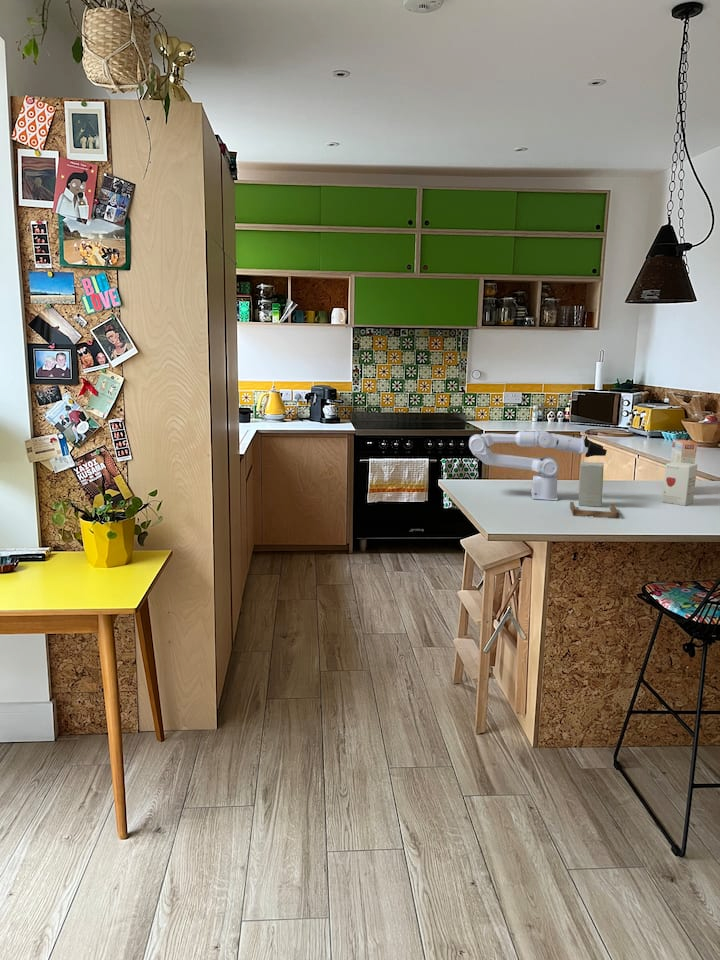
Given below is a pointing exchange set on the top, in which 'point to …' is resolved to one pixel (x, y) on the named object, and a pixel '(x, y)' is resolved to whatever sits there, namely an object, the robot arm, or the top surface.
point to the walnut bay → (595, 512)
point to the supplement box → (679, 483)
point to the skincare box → (591, 484)
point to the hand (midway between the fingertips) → (604, 450)
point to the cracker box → (683, 451)
